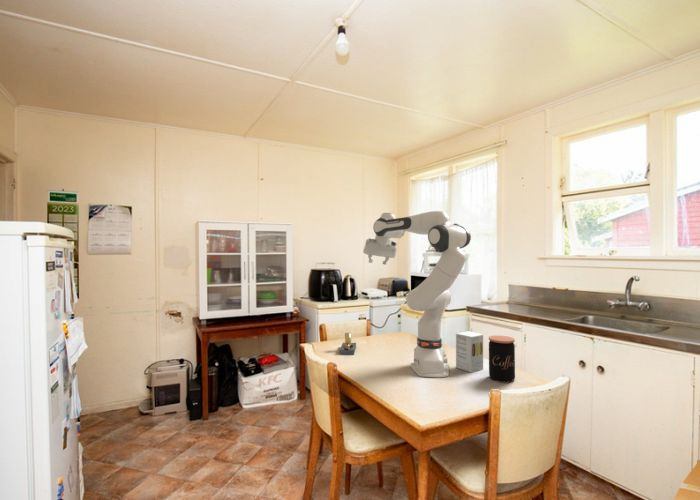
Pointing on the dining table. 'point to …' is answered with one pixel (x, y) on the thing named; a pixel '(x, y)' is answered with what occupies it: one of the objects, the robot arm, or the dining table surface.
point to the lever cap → (348, 338)
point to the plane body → (348, 349)
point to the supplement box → (469, 351)
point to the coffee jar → (502, 358)
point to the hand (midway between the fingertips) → (377, 263)
